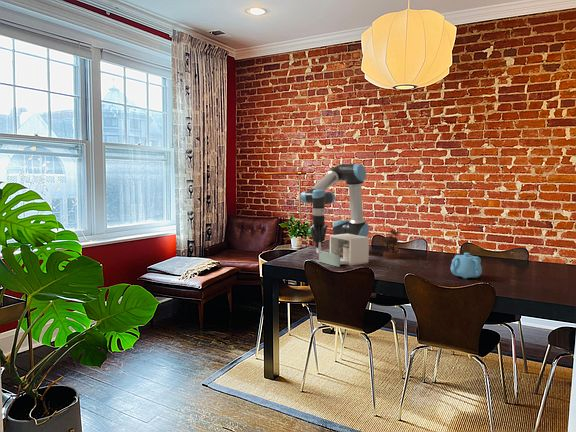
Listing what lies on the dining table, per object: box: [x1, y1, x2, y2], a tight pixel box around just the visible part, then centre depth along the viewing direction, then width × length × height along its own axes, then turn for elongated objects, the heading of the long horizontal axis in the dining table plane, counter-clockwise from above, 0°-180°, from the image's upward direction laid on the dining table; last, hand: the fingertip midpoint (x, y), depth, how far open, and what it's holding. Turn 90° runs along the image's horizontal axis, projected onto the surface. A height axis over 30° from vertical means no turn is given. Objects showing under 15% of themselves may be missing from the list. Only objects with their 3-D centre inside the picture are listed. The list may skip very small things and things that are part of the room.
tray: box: [318, 250, 349, 268], centre depth 279 cm, size 19×24×7 cm
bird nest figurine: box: [381, 228, 401, 260], centre depth 296 cm, size 15×11×20 cm
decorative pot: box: [450, 252, 483, 280], centre depth 243 cm, size 16×16×14 cm
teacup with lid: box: [339, 241, 350, 260], centre depth 281 cm, size 12×9×12 cm
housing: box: [329, 234, 370, 267], centre depth 282 cm, size 20×16×17 cm
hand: (318, 252), depth 268 cm, fingers closed
